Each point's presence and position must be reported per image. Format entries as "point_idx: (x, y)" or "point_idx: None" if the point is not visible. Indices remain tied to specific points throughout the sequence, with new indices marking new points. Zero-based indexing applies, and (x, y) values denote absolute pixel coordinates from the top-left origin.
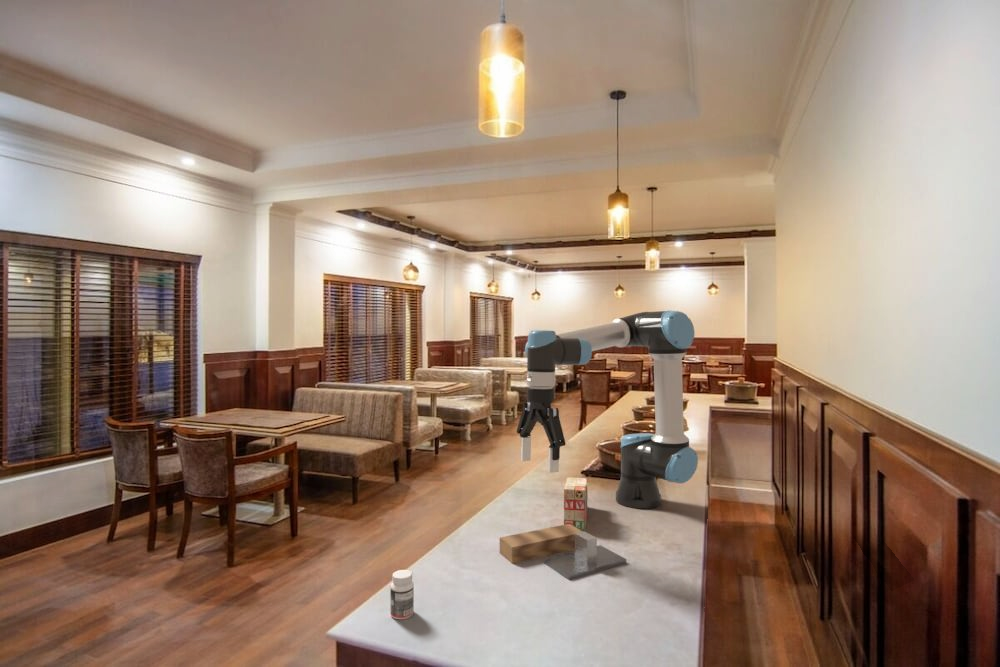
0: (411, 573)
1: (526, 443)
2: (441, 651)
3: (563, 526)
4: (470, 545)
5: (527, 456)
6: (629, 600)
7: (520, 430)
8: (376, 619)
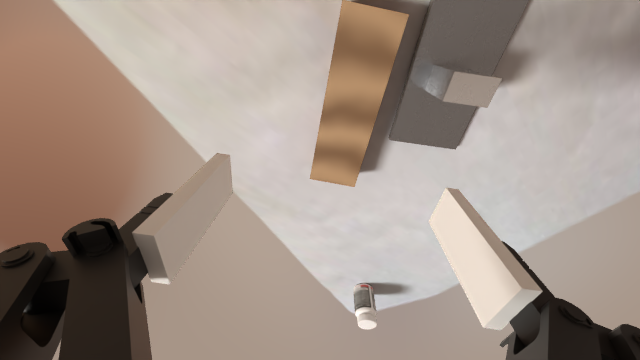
0: (373, 321)
1: (186, 233)
2: (429, 292)
3: (346, 32)
4: (264, 181)
5: (221, 180)
6: (568, 122)
7: (64, 313)
8: None
